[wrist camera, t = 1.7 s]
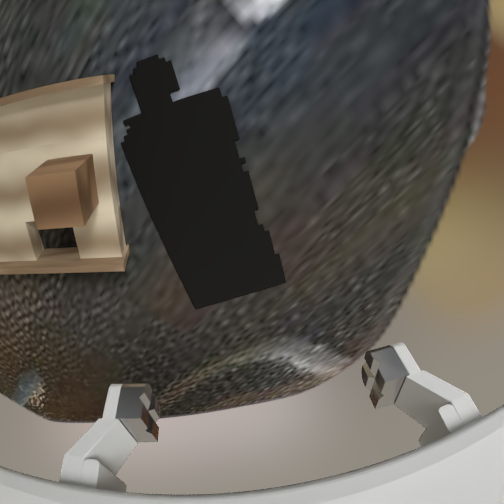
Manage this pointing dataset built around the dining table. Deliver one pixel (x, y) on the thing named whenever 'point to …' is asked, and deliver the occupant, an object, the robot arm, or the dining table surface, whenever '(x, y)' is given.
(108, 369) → the dining table surface
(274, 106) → the dining table surface
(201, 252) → the black flat board
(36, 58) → the dining table surface
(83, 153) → the box
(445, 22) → the dining table surface
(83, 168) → the block
